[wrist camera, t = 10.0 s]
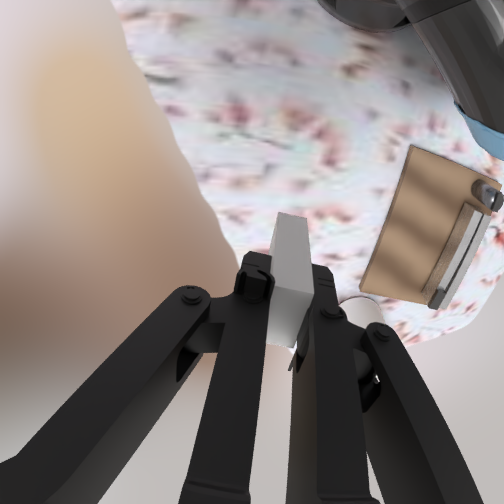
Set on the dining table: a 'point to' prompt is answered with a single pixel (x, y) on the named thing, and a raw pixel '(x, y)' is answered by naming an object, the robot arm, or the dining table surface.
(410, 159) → the board
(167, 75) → the dining table surface
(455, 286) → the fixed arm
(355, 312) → the mug
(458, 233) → the light grey long bar
